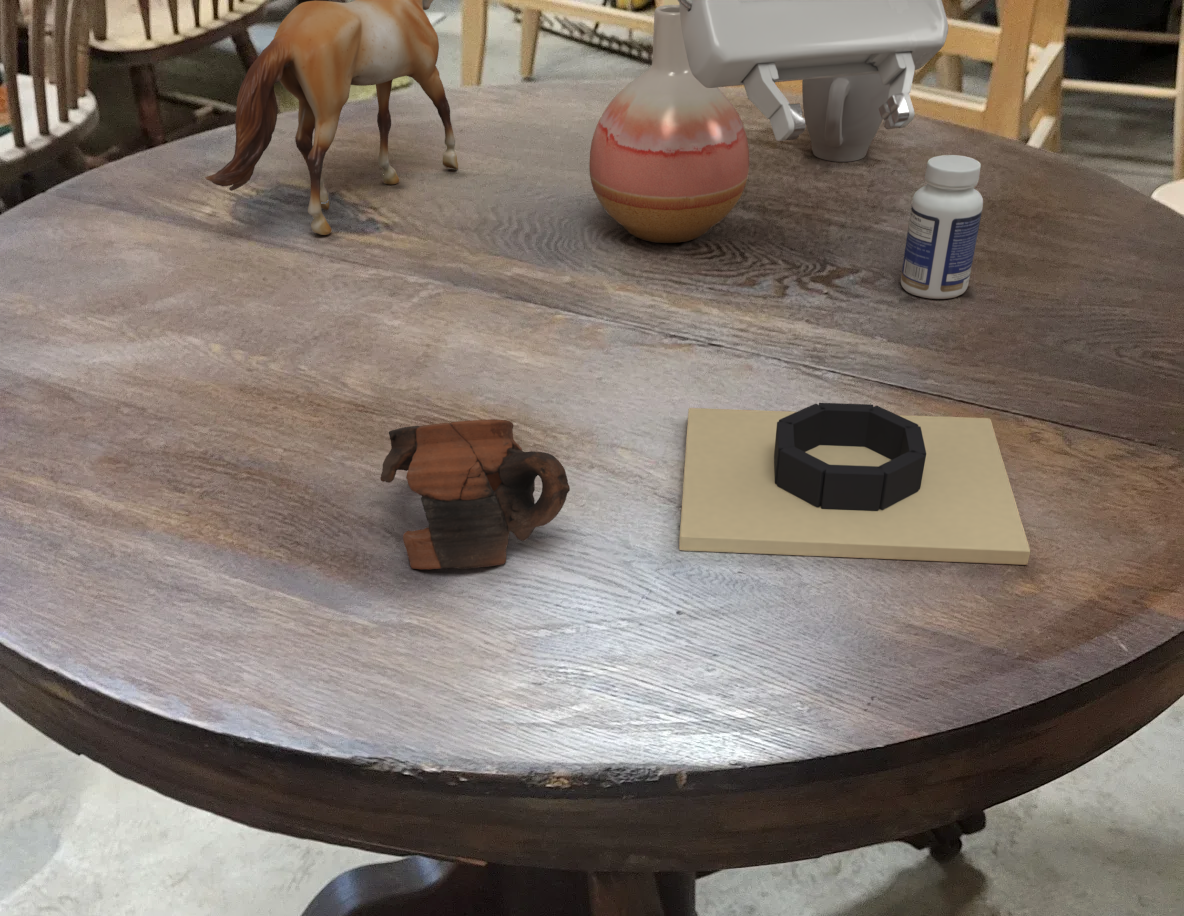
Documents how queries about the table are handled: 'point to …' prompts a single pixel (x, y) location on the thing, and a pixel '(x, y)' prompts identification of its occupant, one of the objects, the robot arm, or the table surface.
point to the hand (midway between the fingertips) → (847, 130)
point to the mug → (843, 114)
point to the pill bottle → (943, 229)
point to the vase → (669, 147)
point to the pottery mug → (472, 490)
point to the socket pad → (848, 486)
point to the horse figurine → (335, 83)
